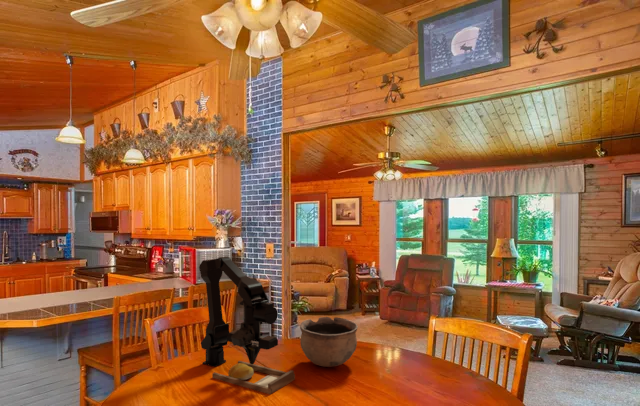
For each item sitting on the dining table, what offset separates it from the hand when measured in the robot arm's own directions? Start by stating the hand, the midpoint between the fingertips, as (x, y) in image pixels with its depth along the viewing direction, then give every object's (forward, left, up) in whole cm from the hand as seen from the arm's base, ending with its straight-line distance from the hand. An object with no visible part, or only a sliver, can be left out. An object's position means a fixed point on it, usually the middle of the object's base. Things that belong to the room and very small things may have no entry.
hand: (252, 363), depth 146 cm
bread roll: (-1, 0, -6) cm, 6 cm away
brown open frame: (+1, 0, -5) cm, 5 cm away
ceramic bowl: (+16, +26, -5) cm, 31 cm away
